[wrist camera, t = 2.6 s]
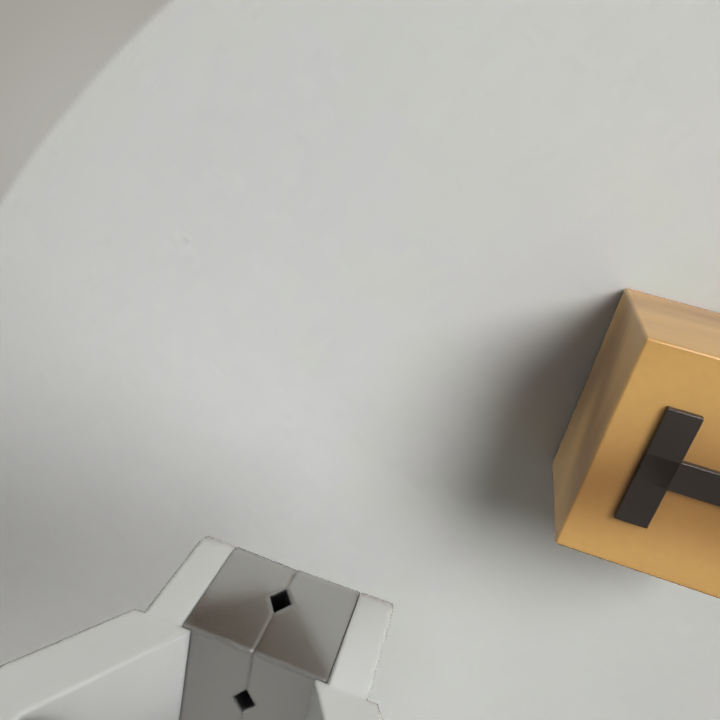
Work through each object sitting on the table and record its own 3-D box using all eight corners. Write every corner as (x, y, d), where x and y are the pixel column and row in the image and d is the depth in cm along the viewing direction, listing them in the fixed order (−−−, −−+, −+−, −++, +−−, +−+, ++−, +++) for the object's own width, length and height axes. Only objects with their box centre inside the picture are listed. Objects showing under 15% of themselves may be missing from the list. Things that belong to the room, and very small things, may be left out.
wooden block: (624, 287, 17) (648, 339, 13) (856, 350, 16) (950, 424, 12) (552, 463, 20) (554, 547, 16) (748, 525, 19) (799, 630, 15)
